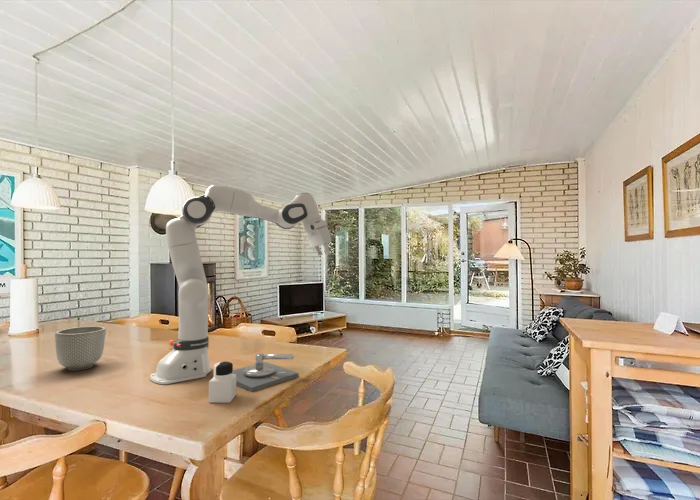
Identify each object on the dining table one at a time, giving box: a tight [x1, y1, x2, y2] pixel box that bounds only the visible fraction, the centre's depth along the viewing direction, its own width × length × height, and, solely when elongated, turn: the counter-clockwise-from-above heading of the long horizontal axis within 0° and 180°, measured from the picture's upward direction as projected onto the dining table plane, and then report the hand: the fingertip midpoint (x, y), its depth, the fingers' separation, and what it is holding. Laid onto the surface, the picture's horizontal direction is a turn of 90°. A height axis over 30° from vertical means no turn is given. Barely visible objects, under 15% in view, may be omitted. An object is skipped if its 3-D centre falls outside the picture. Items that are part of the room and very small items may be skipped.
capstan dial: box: [244, 353, 296, 378], centre depth 144 cm, size 20×12×7 cm, turn 94°
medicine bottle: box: [208, 361, 237, 404], centre depth 122 cm, size 7×7×12 cm
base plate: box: [233, 361, 299, 393], centre depth 143 cm, size 22×22×2 cm
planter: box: [54, 325, 107, 372], centre depth 152 cm, size 17×17×16 cm
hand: (323, 254), depth 168 cm, fingers open, 8 cm apart
